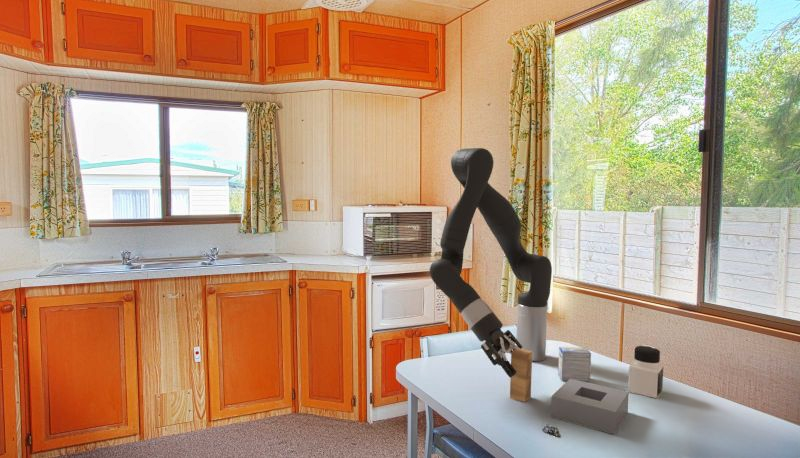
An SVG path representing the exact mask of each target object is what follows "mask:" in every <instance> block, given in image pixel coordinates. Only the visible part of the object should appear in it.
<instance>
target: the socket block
mask: <svg viewBox="0 0 800 458" xmlns="http://www.w3.org/2000/svg"><path fill="white" fill-rule="evenodd" d="M629 394H630V392H629V391H628V390H627V391H626V390H622V389H617V388H614V387H613V388H612V387H610V386H605V385H602V384H601V385H600V384H595V383H591V382H583V381H579V380H575V379H569V380H568V381H565V383H563V384H562V385H561V387H559V388H558V389H557V390H556V391H555V392H554V393H553V394H552V395H551V405H550V406H551V407H550V408H551V409H550V417H552V418H554V419H558V420H562V421H566V422H569V423H573V424H577V425H580V426H583V427H587V428H590V429H594V430H598V431H602V432H605V433H608V434H612V435H615V434H616V432H617V431H618V429H619V427H620V426H621V424H622V423H623V421H624V419H625V418H626V416H627V415H628V412H629Z"/></svg>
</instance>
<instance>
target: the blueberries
mask: <svg viewBox="0 0 800 458" xmlns="http://www.w3.org/2000/svg"><path fill="white" fill-rule="evenodd" d="M565 430H566V429H563V431H565ZM540 431H542V432H543V433H544V434H547V435H548V434H549V436H552V437H553V436H555V437H554V438H561V434H560V432H559V429H558V427H556V426H553V425H551V424H549V423H546V424H545V425H544V426H542V428H540ZM564 433H566V432H564Z"/></svg>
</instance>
